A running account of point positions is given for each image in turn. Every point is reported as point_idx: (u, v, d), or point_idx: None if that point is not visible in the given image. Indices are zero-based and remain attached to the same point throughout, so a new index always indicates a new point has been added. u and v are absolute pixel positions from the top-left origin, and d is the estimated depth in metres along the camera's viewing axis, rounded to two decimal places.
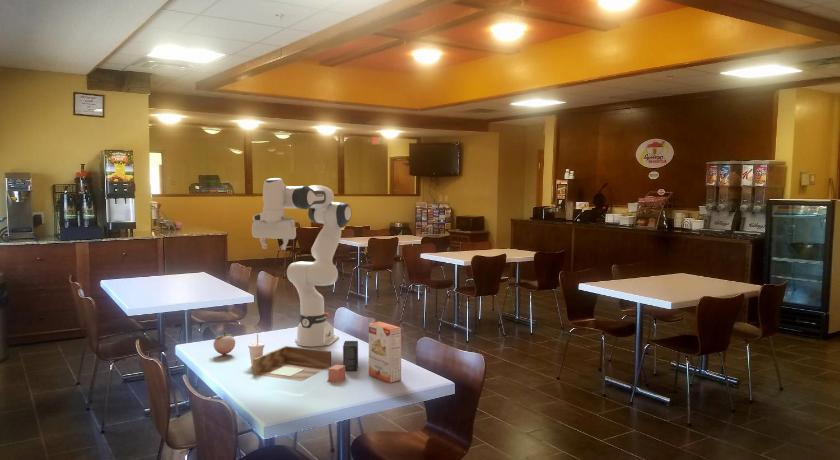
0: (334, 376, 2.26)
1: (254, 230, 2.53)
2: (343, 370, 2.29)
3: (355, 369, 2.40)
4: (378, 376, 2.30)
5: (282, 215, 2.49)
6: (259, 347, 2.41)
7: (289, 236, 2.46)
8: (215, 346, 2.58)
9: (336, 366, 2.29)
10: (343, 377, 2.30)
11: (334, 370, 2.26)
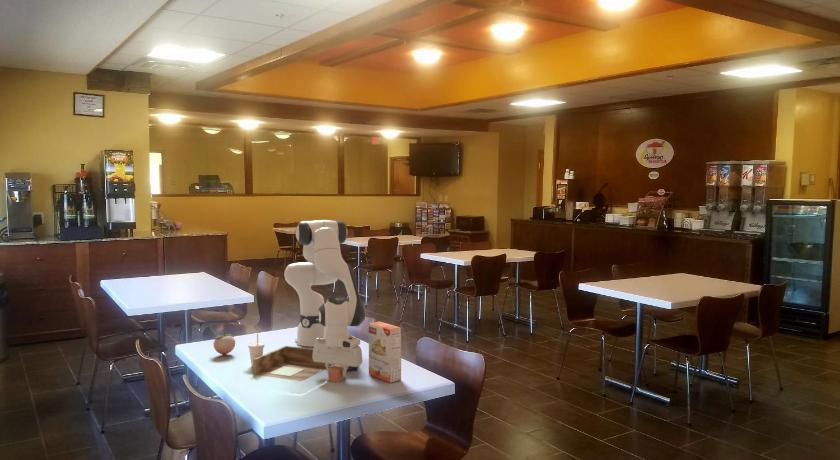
0: (334, 376, 2.26)
1: None
2: (343, 369, 2.29)
3: (355, 369, 2.40)
4: (378, 376, 2.30)
5: None
6: (259, 347, 2.41)
7: None
8: (215, 346, 2.58)
9: (336, 366, 2.29)
10: (343, 377, 2.29)
11: (334, 370, 2.26)
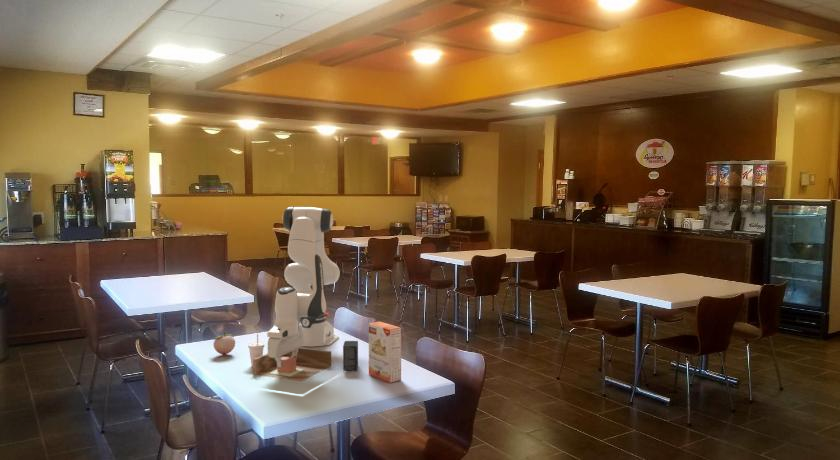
0: None
1: (278, 349, 2.27)
2: (286, 363, 2.33)
3: (355, 369, 2.40)
4: (378, 376, 2.30)
5: None
6: (259, 347, 2.41)
7: (303, 343, 2.43)
8: (215, 346, 2.58)
9: (288, 358, 2.36)
10: (287, 371, 2.33)
11: None
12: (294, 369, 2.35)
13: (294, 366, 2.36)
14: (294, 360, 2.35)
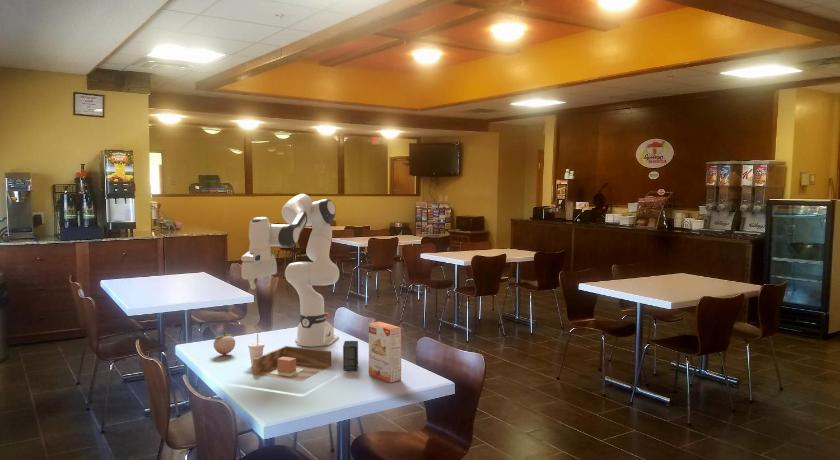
0: None
1: (251, 272, 2.45)
2: (286, 363, 2.33)
3: (355, 369, 2.40)
4: (378, 376, 2.30)
5: None
6: (259, 347, 2.41)
7: (276, 271, 2.62)
8: (215, 346, 2.58)
9: (288, 358, 2.36)
10: (287, 371, 2.33)
11: None
12: (294, 369, 2.35)
13: (294, 366, 2.36)
14: (294, 360, 2.35)
